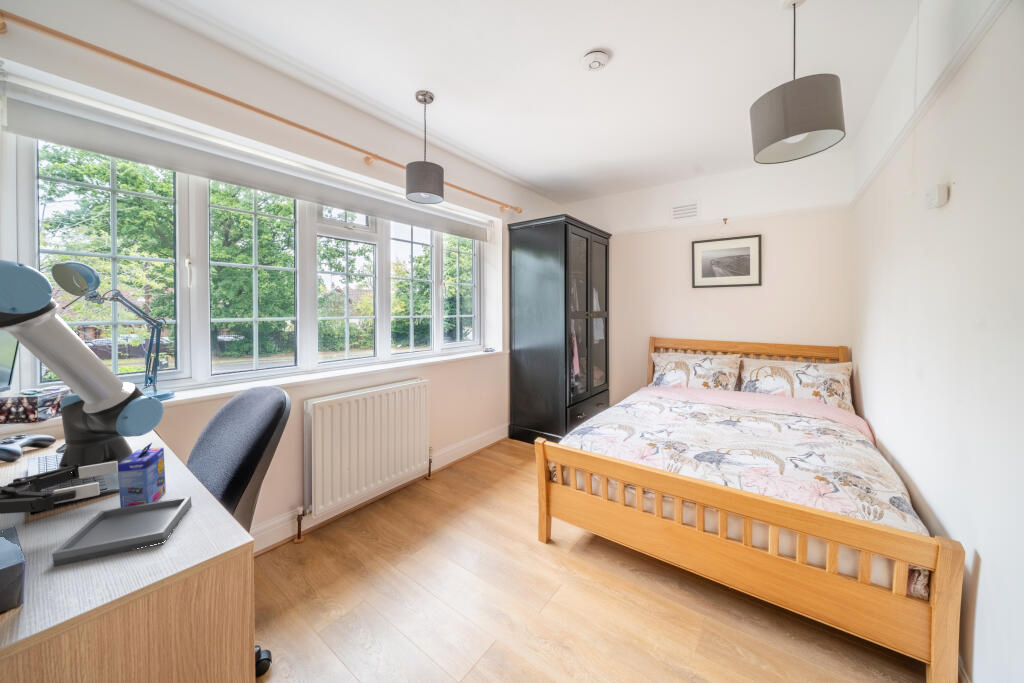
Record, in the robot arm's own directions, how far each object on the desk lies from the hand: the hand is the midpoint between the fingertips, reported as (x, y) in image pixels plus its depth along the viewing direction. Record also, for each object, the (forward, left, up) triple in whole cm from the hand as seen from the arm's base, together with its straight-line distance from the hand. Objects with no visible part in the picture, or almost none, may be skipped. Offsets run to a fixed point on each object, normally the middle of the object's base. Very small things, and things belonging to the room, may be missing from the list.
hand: (109, 476), depth 89 cm
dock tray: (+13, +8, -8) cm, 18 cm away
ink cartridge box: (-2, +5, -9) cm, 10 cm away
